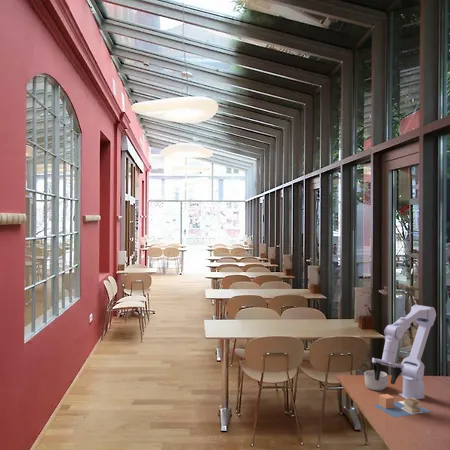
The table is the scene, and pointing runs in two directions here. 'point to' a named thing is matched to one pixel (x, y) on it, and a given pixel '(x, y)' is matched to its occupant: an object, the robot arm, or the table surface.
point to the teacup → (373, 383)
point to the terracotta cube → (386, 401)
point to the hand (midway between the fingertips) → (384, 382)
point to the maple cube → (412, 405)
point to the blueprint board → (400, 410)
